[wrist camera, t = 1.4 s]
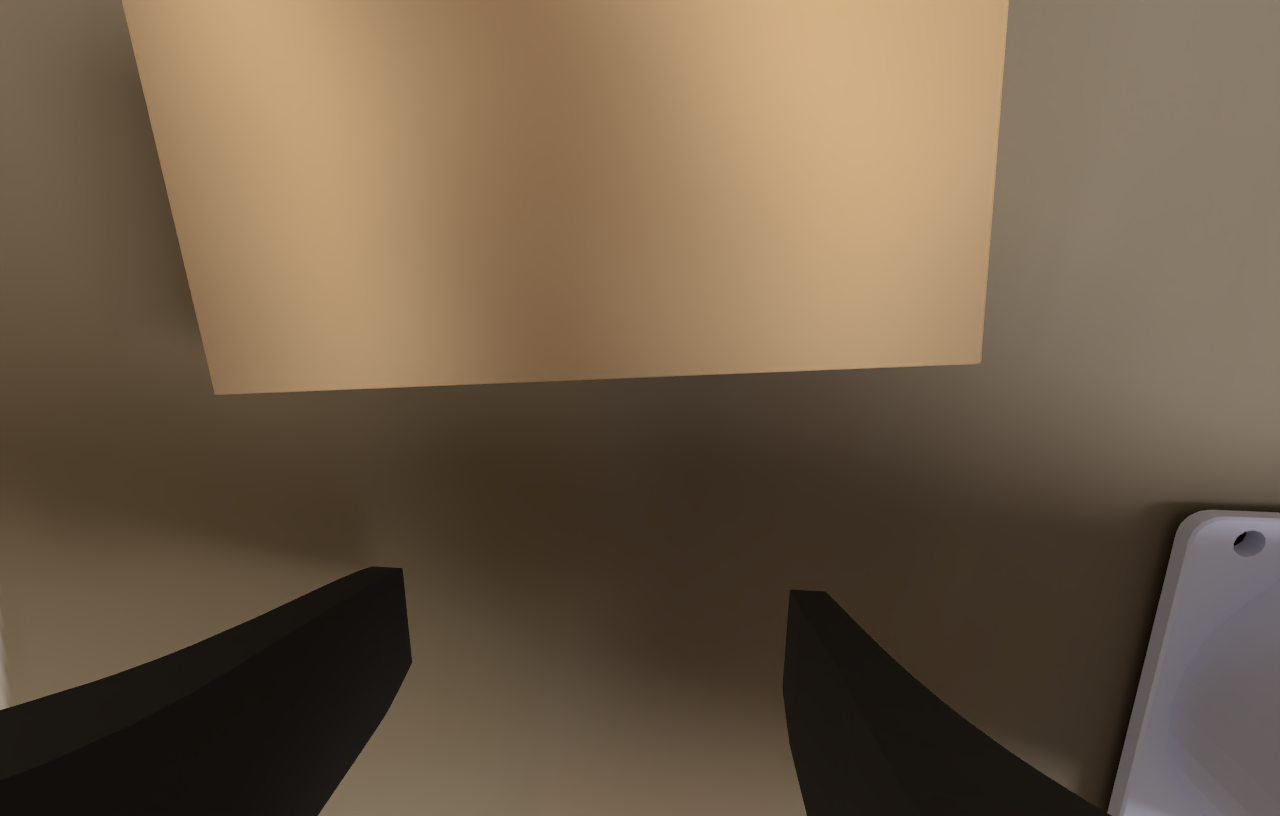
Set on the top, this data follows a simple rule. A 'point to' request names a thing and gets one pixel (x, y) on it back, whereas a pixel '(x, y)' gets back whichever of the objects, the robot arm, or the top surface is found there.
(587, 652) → the top surface
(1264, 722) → the robot arm
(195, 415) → the top surface
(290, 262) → the oak bar
